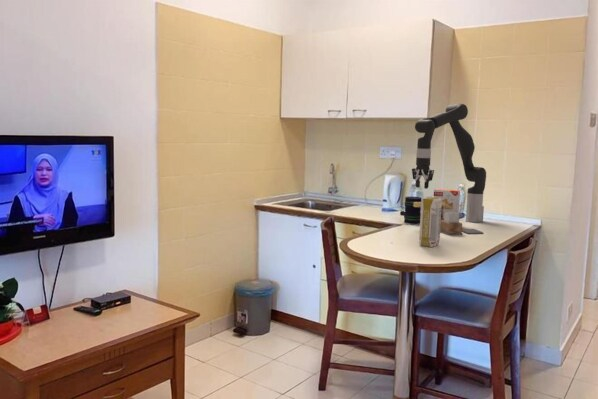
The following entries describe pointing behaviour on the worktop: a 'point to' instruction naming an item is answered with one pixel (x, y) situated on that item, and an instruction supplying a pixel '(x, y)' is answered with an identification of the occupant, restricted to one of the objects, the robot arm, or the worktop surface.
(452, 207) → the cracker box
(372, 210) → the worktop surface
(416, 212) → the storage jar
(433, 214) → the juice carton
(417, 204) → the lever
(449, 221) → the cap
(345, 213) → the worktop surface
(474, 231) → the mat
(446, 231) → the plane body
